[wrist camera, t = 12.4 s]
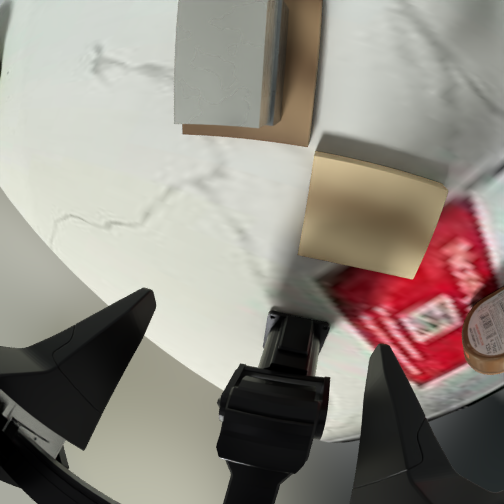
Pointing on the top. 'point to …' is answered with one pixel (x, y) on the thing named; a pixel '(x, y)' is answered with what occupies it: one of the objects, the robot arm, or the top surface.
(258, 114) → the block
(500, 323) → the tin
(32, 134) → the top surface
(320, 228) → the oak stand
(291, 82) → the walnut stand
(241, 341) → the top surface
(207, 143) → the top surface
